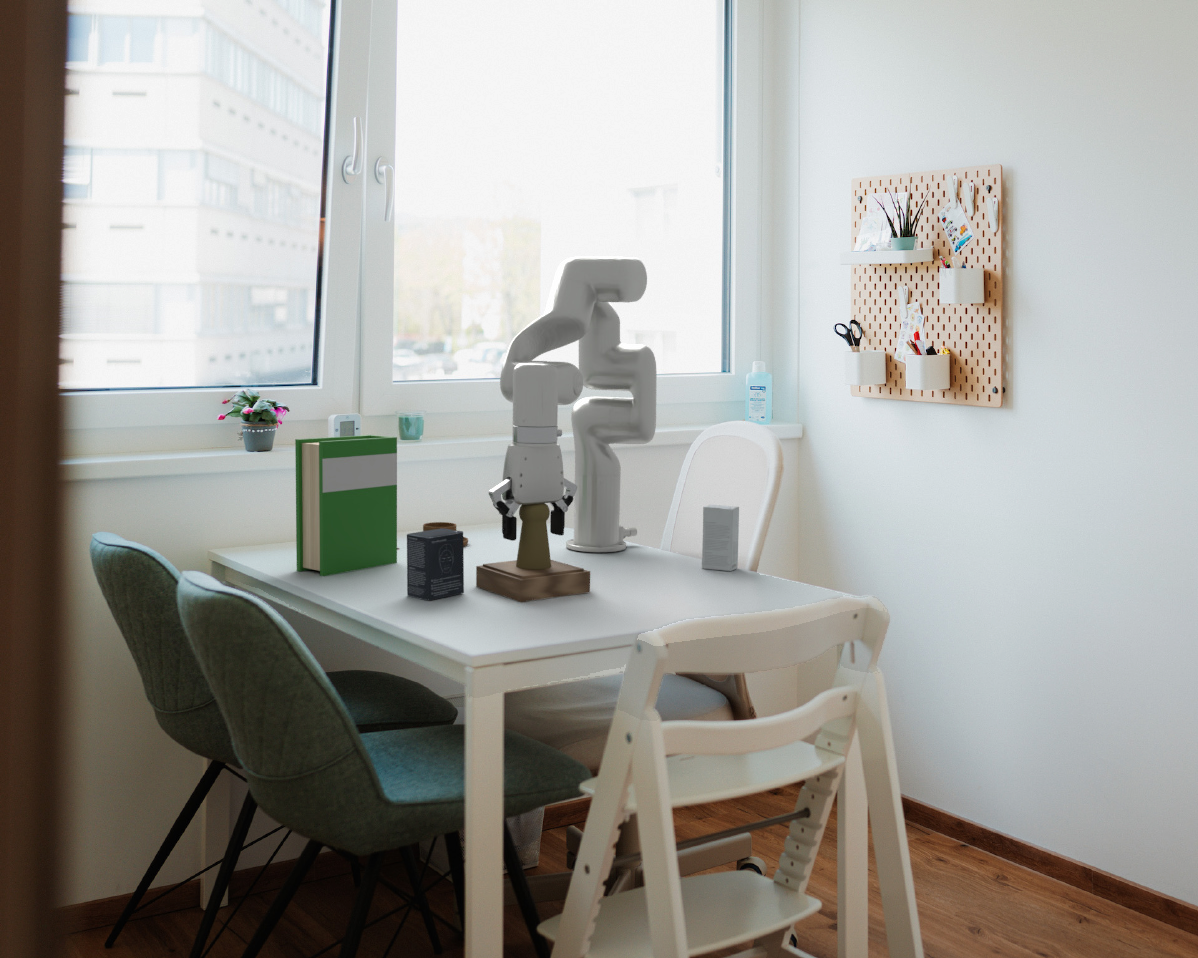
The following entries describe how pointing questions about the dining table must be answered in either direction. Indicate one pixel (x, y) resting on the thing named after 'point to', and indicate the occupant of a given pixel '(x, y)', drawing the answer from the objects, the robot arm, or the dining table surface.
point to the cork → (534, 537)
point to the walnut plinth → (532, 580)
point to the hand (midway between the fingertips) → (533, 536)
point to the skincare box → (720, 537)
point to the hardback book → (346, 503)
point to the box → (435, 564)
